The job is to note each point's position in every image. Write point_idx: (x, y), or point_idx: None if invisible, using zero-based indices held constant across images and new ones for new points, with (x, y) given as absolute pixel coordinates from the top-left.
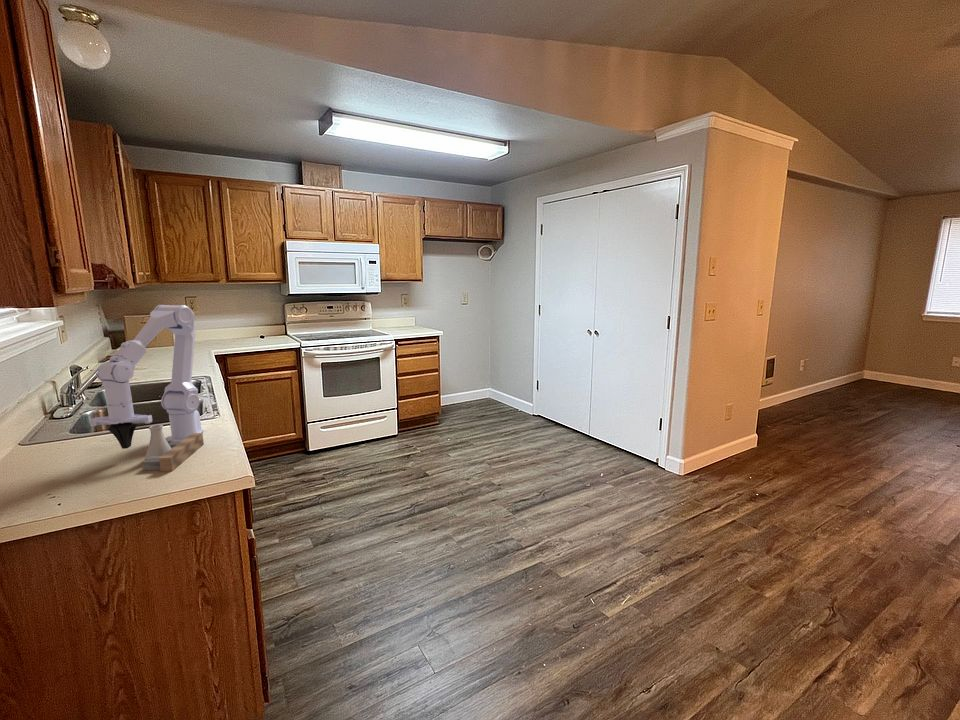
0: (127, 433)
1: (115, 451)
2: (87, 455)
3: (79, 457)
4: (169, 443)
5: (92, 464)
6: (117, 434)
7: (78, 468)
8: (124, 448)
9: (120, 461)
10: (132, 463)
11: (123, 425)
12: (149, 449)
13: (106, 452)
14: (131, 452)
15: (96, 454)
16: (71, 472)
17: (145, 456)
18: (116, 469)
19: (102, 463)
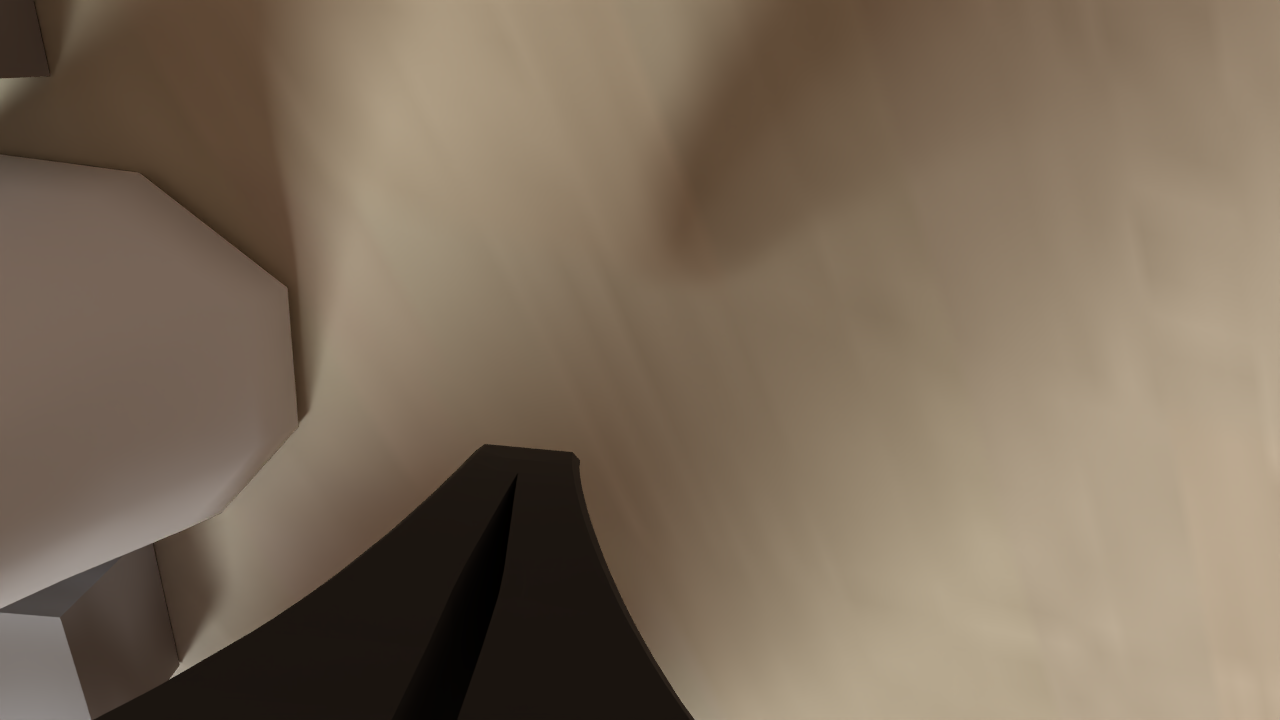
0: (135, 700)
1: (853, 700)
2: (1136, 656)
3: (1214, 619)
4: (57, 660)
5: (1003, 343)
6: (533, 702)
7: (1160, 230)
8: (531, 452)
9: (650, 361)
10: (425, 229)
11: None
12: (31, 348)
13: (946, 694)
14: (648, 634)
15: (1042, 663)
16: (1234, 72)
17: (225, 312)
18: (554, 4)
19: (877, 347)
